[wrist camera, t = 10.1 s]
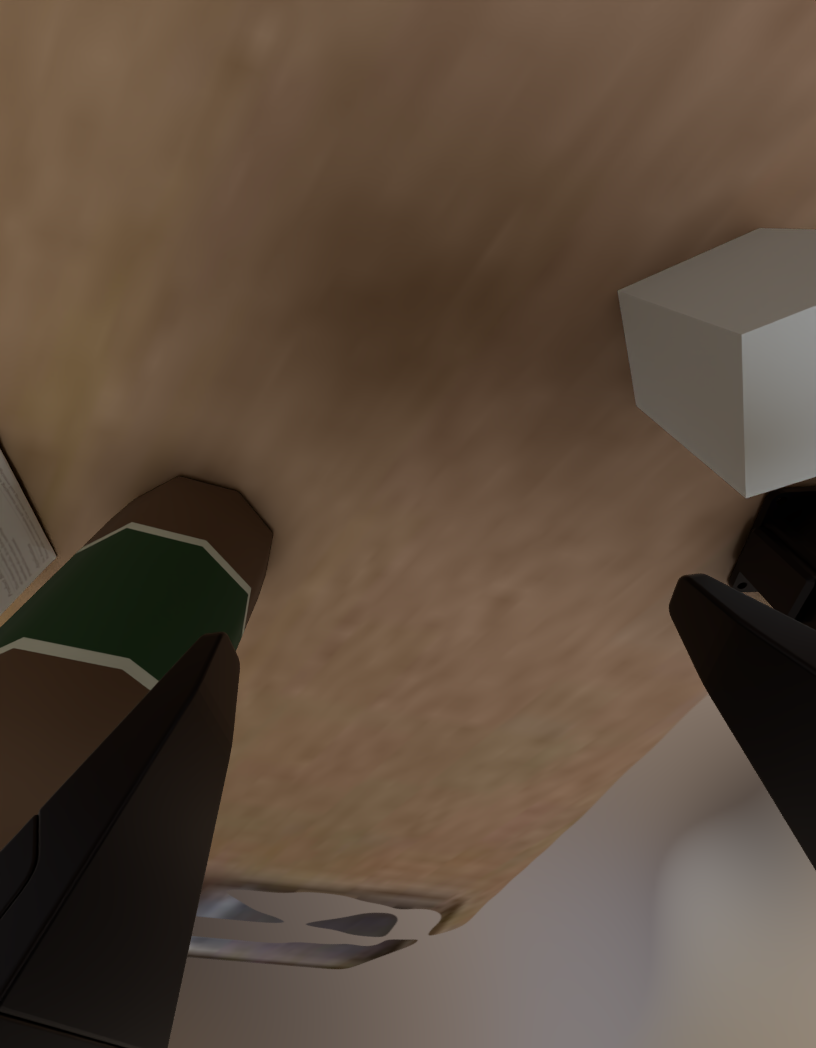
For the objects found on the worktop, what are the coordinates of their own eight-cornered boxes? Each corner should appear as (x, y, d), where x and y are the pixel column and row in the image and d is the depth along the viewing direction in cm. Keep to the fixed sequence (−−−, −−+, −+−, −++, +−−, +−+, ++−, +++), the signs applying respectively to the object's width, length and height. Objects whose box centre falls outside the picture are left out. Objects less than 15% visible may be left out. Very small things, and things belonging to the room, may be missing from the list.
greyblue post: (759, 227, 16) (997, 234, 10) (759, 359, 19) (947, 435, 12) (617, 290, 17) (741, 334, 11) (636, 405, 20) (746, 498, 13)
